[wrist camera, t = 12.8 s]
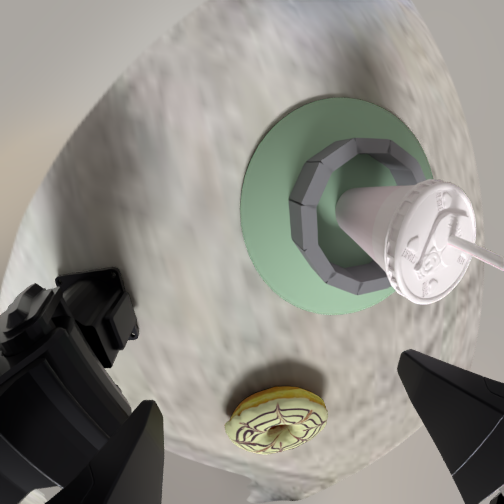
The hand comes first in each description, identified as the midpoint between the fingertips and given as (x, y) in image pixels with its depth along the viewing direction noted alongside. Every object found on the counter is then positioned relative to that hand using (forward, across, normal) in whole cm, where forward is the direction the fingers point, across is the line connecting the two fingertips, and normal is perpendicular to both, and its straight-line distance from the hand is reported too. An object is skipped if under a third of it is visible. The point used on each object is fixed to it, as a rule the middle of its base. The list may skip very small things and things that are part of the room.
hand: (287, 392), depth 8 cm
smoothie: (+13, -9, -3) cm, 16 cm away
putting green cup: (+13, -9, -3) cm, 16 cm away
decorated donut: (+13, -1, +18) cm, 22 cm away
